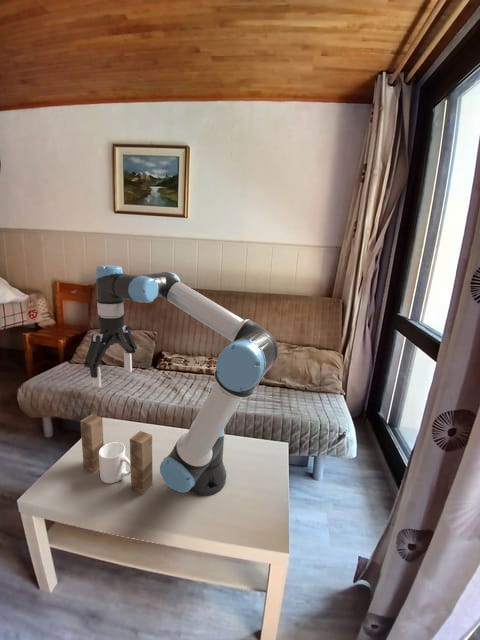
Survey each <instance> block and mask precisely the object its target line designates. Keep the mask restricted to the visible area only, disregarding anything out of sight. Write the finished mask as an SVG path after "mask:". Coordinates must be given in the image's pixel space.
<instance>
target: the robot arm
mask: <svg viewBox="0 0 480 640" xmlns="http://www.w3.org/2000/svg"><path fill="white" fill-rule="evenodd" d="M94 280H95V284H96V285H95V289H96V301H97V314H98V317H97V325H98V329H99V330H100V332H99V334H92V335H91V338H90V345H89V347H88V351H87V353H86V357H85V360H84V363H83V366H84V367H85V368H89V369H90V377H91V378H92V379H91V380H92V386H93V387H97V388H101V387H102V372H101V371H102V370H101V366H99V365H100V363H101V362H102V359H103V357H104V356H105V354H106V352H107V349H109V348H110V346H113V345H114V344H118V345H120V347H122V349H123V350H124V352H123V368H124V369H123V370H124V371H127V372H129V373H130V372H131V373H132V371H133V354H135V353H136V350H137V349H138V346H137V344H136V341H135V339H134V337H133V334H132V333H131V328H130V326H128V325H125V316H124V314H125V310H124V309H125V308H124V300H125V301H126V300H127V301H132V302H136V303H140V304H142V303H145V304H148V303H149V304H150V303H152V302H153V301H154V300H155V299H157V298H159V297H161V298H162V299H163V300H165V301H167V302H169V303H171V304H172V305H174V306H176V307H177V308H179V309H180V310H182V311H183V312H185V313H187V315H189V316H191V317H192V318H194V319H196V321H199V322H200V323H202V324H203V325H205V326H207V327H208V328H210V329H212V330H213V331H215V332H216V333H217V334H219V335H221V336H222V337H224V338H225V339H227V340H229V341H230V343H228V344H227V345H226V347H224V348H223V349H222V350H221V352H220V353H219V355H218V357H217V359H216V362H215V363H216V364H215V371H214V373H213V374H214V375H213V376H214V381H215V383H214V384H213V386H212V388H211V390H210V391H209V394H208V396H207V397H206V399H205V400H204V402H203V404H202V406H201V408H200V409H199V411H198V413H197V415H196V417H195V418H194V420H193V421H192V423H191V424H190V425H191V426H190V428H189V429H188V432H186V433H184V434H182V435H180V436H179V437H178V439H177V441H176V443H175V444H174V445H173V446H174V447H173V448H172V450H171V452H170V453H169V454H168V455H167V456H166V457H164V458H163V460H162V461H161V463H160V464H159V465H160V466H159V471H160V472H159V473H160V475H161V477H162V480H163V481H164V482H165V484H166V485H167V486H168V487H169V488H171V489H172V490H174V491H176V492H178V493H188V492H191V493H192V494H196V495H199V496H210V495H211V496H212V495H215V494H217V493H219V492H220V491H221V490H222V489H223V488H224V487H225V485H226V482H227V471H226V468H225V464H224V461H223V459H224V457H223V455H224V445H225V444H224V442H225V434H226V433H225V428H226V426H227V425H228V423H229V421H230V419H231V418H232V416H233V415H234V413H235V411H236V410H237V408H238V407H239V406H240V403H241V402H242V400H243V399H245V398H249V397H251V396H252V395H253V393H254V391H255V390H256V388H257V387H258V385H259V384H260V382H261V381H262V379H263V377H264V376H265V374H267V372H268V371H269V370H270V369H271V368H272V367H273V365H275V363H276V361H277V359H278V357H279V345H278V343H277V341H276V339H275V337H274V335H272V334H271V333H270V332H269V331H268V330H267V329H265V328H264V327H263V326H261V325H260V324H257V323H256V322H255V321H253V320H251V319H249V318H248V319H247V318H246V319H243V318H242V317H240V316H238V315H236V314H235V313H233V312H231V311H230V310H228V309H227V308H225V307H223V306H221V305H219V304H218V303H216V302H214V301H213V300H211V299H210V298H208V297H206V296H205V295H203V294H201V293H199V291H196V290H195V289H193V288H191V287H190V286H188V285H186V284H185V283H183V282H182V281H181V279H180V278H179V276H178V275H177V274H176V273H174V272H169V271H162V272H157V273H147V274H139V275H138V274H125V273H124V272H123V268H122V266H120V265H115V264H113V265H112V264H103V265H98V266H96V268H95V279H94Z"/></svg>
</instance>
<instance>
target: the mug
mask: <svg viewBox="0 0 480 640" xmlns="http://www.w3.org/2000/svg"><path fill="white" fill-rule="evenodd" d="M99 464H100V469H99V475H100V477H99V478H100V480H101V481H102V482H103V483H105V484H114V483H117V482H119V481H120V480H123V478H124V477H127V476H129V475H131V464H130V458H128V457H127V456H126V446H125V445H124V443H121V442H117V441H115V442H114V441H113V442H108V443H106V444H104V446H103V447H102V448H101V449H100V450H99ZM126 464H128V466H129V468H130V470H129V471H127V469H126V468H127V465H126Z"/></svg>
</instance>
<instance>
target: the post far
mask: <svg viewBox="0 0 480 640" xmlns="http://www.w3.org/2000/svg"><path fill="white" fill-rule="evenodd" d="M79 421H80V423H79V424H80V434H81V436H80V437H81V448H82V449H81V450H82V461H83V469H84V470H86V471H88V472H90V473H92V474H95V473H97V472H98V471H100V464H99V450H100V449H101V448H102V447H103V446H104V445H105V444H104V428H103V427H104V426H103V417H101V416H99V415H95V414H93V413H91V414H89V415H88V416H86V417H84V418H83V419H81V420H79Z"/></svg>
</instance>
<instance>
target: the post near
mask: <svg viewBox="0 0 480 640" xmlns="http://www.w3.org/2000/svg"><path fill="white" fill-rule="evenodd" d="M129 453H130V454H129V461H130V464H131V473H130V489H131V490H132V491H134V492H136V493H138V494H140V495H144V494H146V492H147V491H148V490H149V489H150V488H151V487H152V486H153V435H152V434H150V433H147V432H144V431H142V430H139V431H138V432H136V434H134V435H133V436H131V437H130V438H129Z"/></svg>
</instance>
